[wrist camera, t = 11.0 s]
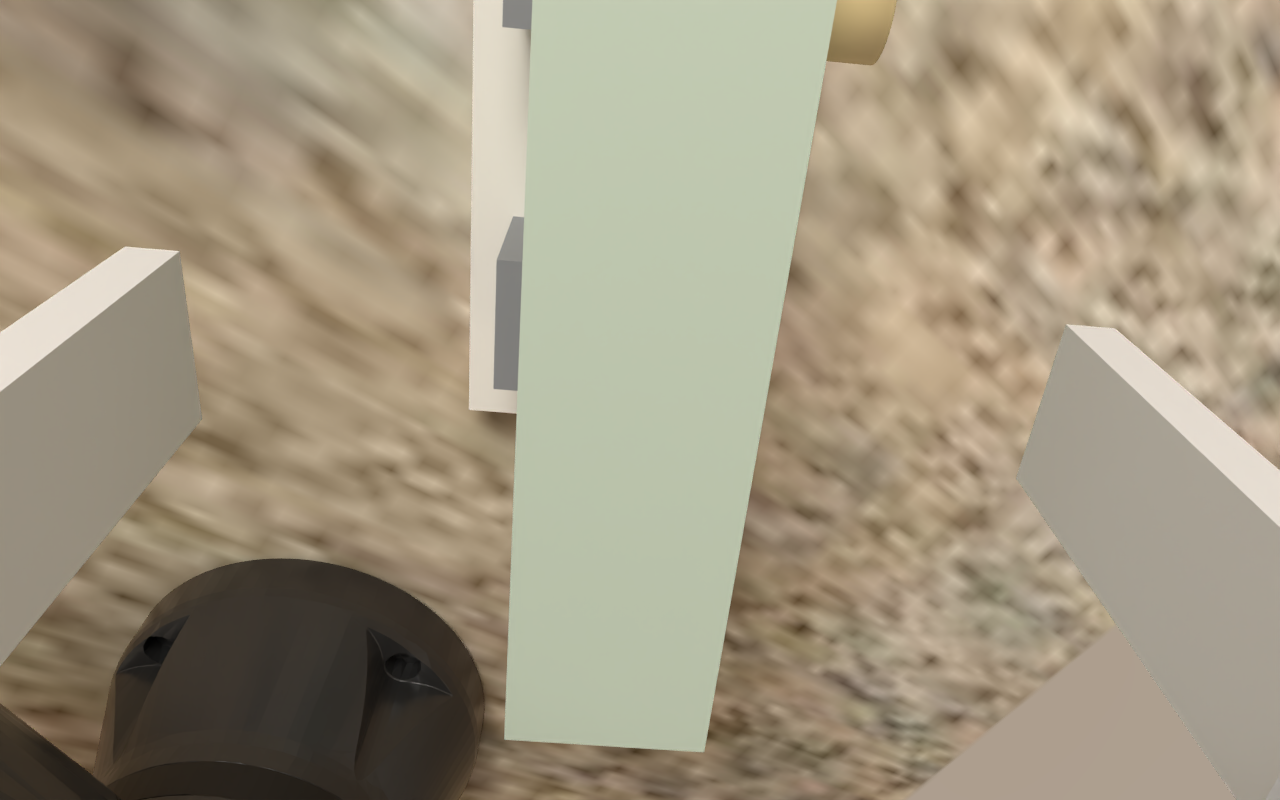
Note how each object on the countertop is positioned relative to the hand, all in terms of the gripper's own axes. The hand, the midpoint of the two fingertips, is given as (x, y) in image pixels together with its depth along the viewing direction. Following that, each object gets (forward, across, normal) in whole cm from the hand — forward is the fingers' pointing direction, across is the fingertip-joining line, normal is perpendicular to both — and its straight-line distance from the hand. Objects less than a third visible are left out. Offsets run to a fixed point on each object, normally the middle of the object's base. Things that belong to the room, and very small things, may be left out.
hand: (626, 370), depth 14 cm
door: (+16, 0, 0) cm, 16 cm away
